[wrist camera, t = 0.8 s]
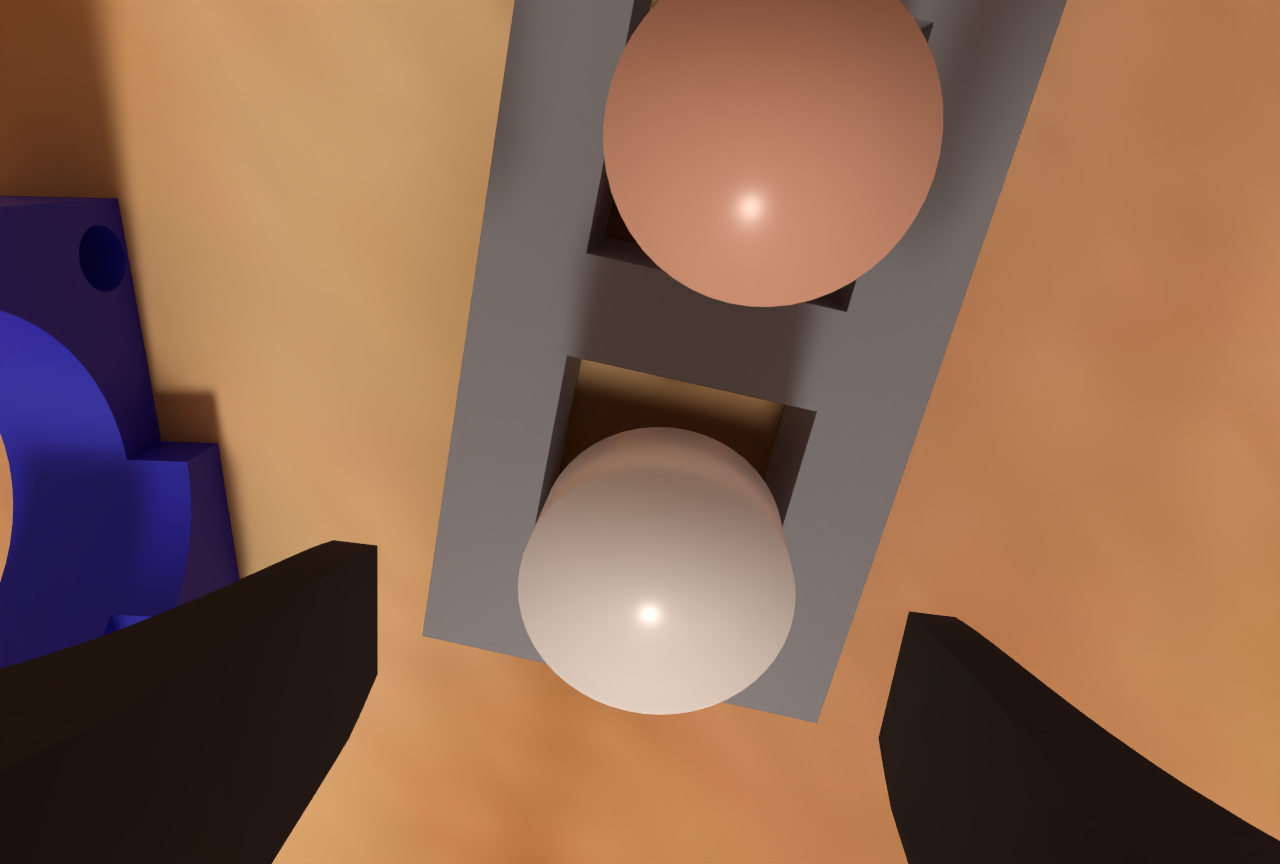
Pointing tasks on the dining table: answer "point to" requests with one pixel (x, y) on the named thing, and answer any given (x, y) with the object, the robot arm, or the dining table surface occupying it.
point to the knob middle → (772, 142)
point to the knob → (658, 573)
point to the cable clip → (91, 443)
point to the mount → (708, 327)
